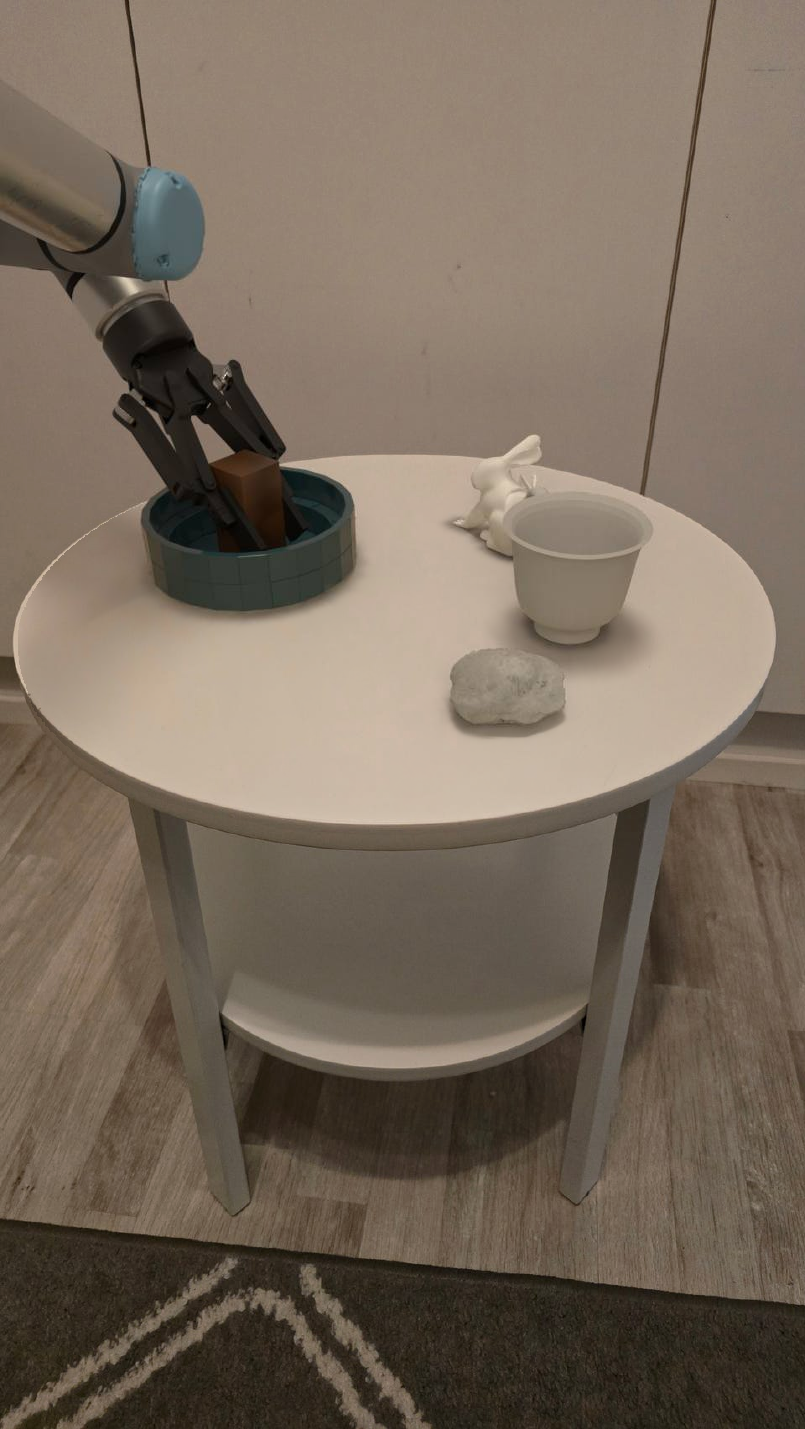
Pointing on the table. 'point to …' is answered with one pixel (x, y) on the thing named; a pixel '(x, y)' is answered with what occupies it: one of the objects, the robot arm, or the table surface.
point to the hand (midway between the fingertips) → (279, 544)
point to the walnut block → (253, 496)
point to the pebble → (506, 687)
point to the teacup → (573, 559)
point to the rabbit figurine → (501, 492)
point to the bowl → (251, 579)
